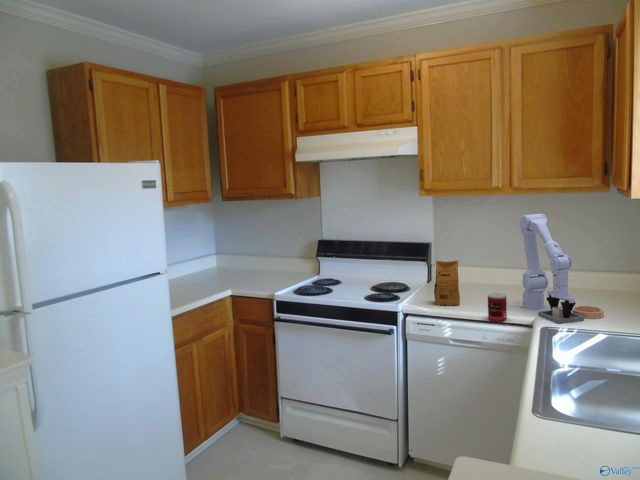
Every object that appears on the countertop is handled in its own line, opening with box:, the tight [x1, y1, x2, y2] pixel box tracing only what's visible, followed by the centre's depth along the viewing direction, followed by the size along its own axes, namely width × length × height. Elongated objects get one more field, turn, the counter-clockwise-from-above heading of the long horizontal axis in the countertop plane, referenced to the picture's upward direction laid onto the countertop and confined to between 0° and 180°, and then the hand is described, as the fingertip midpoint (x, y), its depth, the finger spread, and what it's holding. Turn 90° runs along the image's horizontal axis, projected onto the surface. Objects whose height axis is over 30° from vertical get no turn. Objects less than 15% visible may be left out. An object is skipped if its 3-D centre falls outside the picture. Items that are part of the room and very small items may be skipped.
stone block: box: [552, 305, 564, 319], centre depth 205 cm, size 4×5×4 cm
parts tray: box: [537, 309, 585, 325], centre depth 205 cm, size 13×12×2 cm
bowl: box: [571, 305, 605, 320], centre depth 208 cm, size 12×12×3 cm
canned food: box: [487, 292, 508, 323], centre depth 211 cm, size 8×8×11 cm
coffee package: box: [433, 260, 461, 307], centre depth 241 cm, size 10×12×22 cm
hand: (560, 315), depth 205 cm, fingers open, 7 cm apart
